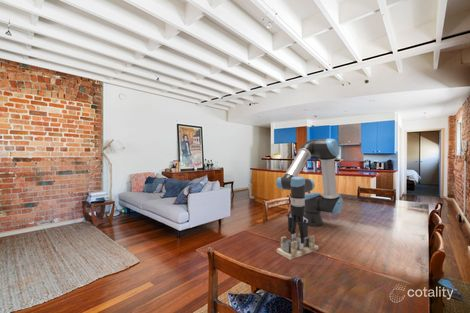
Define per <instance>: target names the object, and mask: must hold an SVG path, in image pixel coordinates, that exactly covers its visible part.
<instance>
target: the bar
mask: <svg viewBox="0 0 470 313" xmlns="http://www.w3.org/2000/svg"><path fill="white" fill-rule="evenodd" d="M309 236H310V235H308V237H305V238H304V243H303V248H305V247H308V246H309ZM292 241H297V250H299V237H298V236H296V238H293V239H291V238H290V239H287V241H284V242H282V250H283V251H285V252H287V253H291V242H292Z"/></svg>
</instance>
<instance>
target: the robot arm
mask: <svg viewBox="0 0 470 313" xmlns="http://www.w3.org/2000/svg"><path fill="white" fill-rule="evenodd" d="M339 154H340V146H339V143H338V141H337V140H336V139H335V138H320V139H319V138H317V139H310V140H307V141H305V143H303V144H302V145H301V146H300V148H298V150H297V154H296V156H295V157H294V159H293V160H292V162H291V164H290V165H289V167H288V168H287V170H286V172H285V173H284V175H283V176H281V177H280V176H279V177H277V178H276V180H275V185H276V188H277V189H280V190H285V191H290V212H291V213H289V214H287V232H289V233H290V239H293V238H296V237H297V233H296V228H297V225H298V232H300V237H299V249H303V243H304V238H305V237H308V236H309V235H308V232H309V231H308V230H309V226H310V227H321V226H323V225H324V220H323V218H322V214H321V212H323V213H327V214H328V213H329V214H336V215H338V214H340V213H341V211H342V208H343V202H344V200H343V198H342V197H340V194H339V193H338V192H337V178H336V177H337V176H336V167H335V166H336V165H335V160H336V159H337V156H339ZM315 156H317V157H318V158H317V159H318V160H319V161H320V165H321V176H322V177H321V178H322V179H321V180H322V188H323V189H322V190H323V192H322V193H320V192H311V191H313V190H314V189H315V182H314V179H311V178H305V177H303V176H299V174H300V173H301V171H302V169H303V168H304V166H305V165H306V162H308V160H310V159H311V157H315Z"/></svg>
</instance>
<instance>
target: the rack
mask: <svg viewBox="0 0 470 313" xmlns="http://www.w3.org/2000/svg"><path fill="white" fill-rule="evenodd" d="M297 233H298V236H297V237H300V232H299V231H298V232H297ZM308 236H309V246H308V247H305V248H303V249H299V250H297V241H292V242H291V253H287V252H285V251H283V250H282V242H284V241H287V240H288V239H287V236H286V235H284V236H281V237H280V247H279V248H276V253H277V254H279V255H280V256H282V257H284V258H286V259H288V260H289V261H292V260H293V259H296V258H299V257H302V256H305V255H308V254H310V253H312V252H315V251H317V250H319V246H318V245H317V244H316V243H315V242H316V241H315V239H316V238H315V235H313V234H312V235H308Z"/></svg>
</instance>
